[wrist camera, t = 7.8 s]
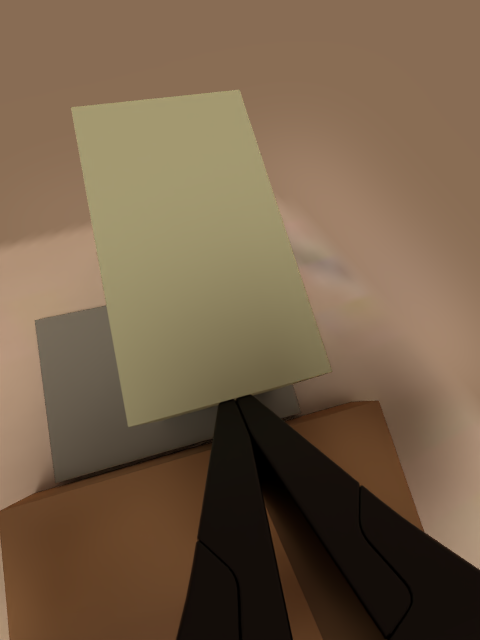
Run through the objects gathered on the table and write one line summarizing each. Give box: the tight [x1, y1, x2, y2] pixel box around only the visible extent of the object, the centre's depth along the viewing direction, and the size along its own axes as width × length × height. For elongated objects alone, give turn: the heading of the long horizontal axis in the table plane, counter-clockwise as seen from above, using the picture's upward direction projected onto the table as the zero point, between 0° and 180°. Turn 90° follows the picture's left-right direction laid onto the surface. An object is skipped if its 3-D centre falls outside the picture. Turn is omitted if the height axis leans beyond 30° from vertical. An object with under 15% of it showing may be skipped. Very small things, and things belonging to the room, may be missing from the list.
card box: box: [71, 90, 332, 427], centre depth 12 cm, size 7×5×9 cm
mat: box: [35, 306, 301, 483], centre depth 15 cm, size 7×10×1 cm, turn 104°
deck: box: [0, 400, 424, 640], centre depth 12 cm, size 12×14×2 cm
